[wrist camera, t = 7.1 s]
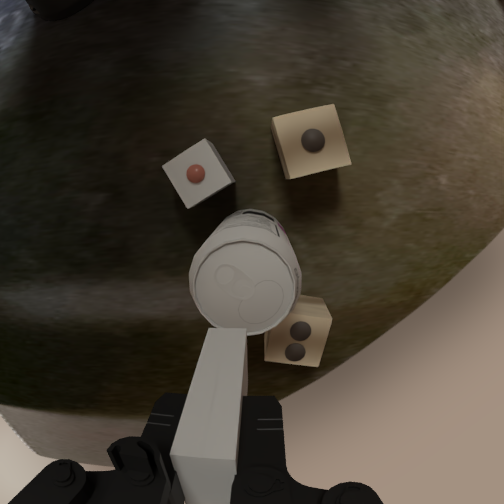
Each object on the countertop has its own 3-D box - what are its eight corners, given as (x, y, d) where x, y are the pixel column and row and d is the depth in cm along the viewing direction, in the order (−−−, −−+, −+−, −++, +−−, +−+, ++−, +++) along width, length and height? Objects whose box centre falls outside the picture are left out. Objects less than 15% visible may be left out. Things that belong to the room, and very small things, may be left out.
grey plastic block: (175, 167, 34) (161, 166, 29) (212, 143, 34) (204, 138, 29) (197, 204, 35) (187, 209, 30) (235, 181, 35) (231, 182, 30)
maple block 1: (270, 127, 33) (272, 117, 27) (322, 115, 33) (334, 103, 27) (285, 179, 34) (290, 179, 28) (336, 166, 34) (352, 164, 28)
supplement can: (301, 239, 36) (328, 282, 21) (255, 292, 37) (251, 362, 23) (246, 193, 35) (235, 204, 20) (200, 249, 36) (162, 296, 22)
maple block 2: (273, 290, 37) (275, 311, 31) (322, 297, 37) (332, 319, 31) (264, 335, 39) (264, 361, 33) (310, 341, 39) (318, 368, 33)
